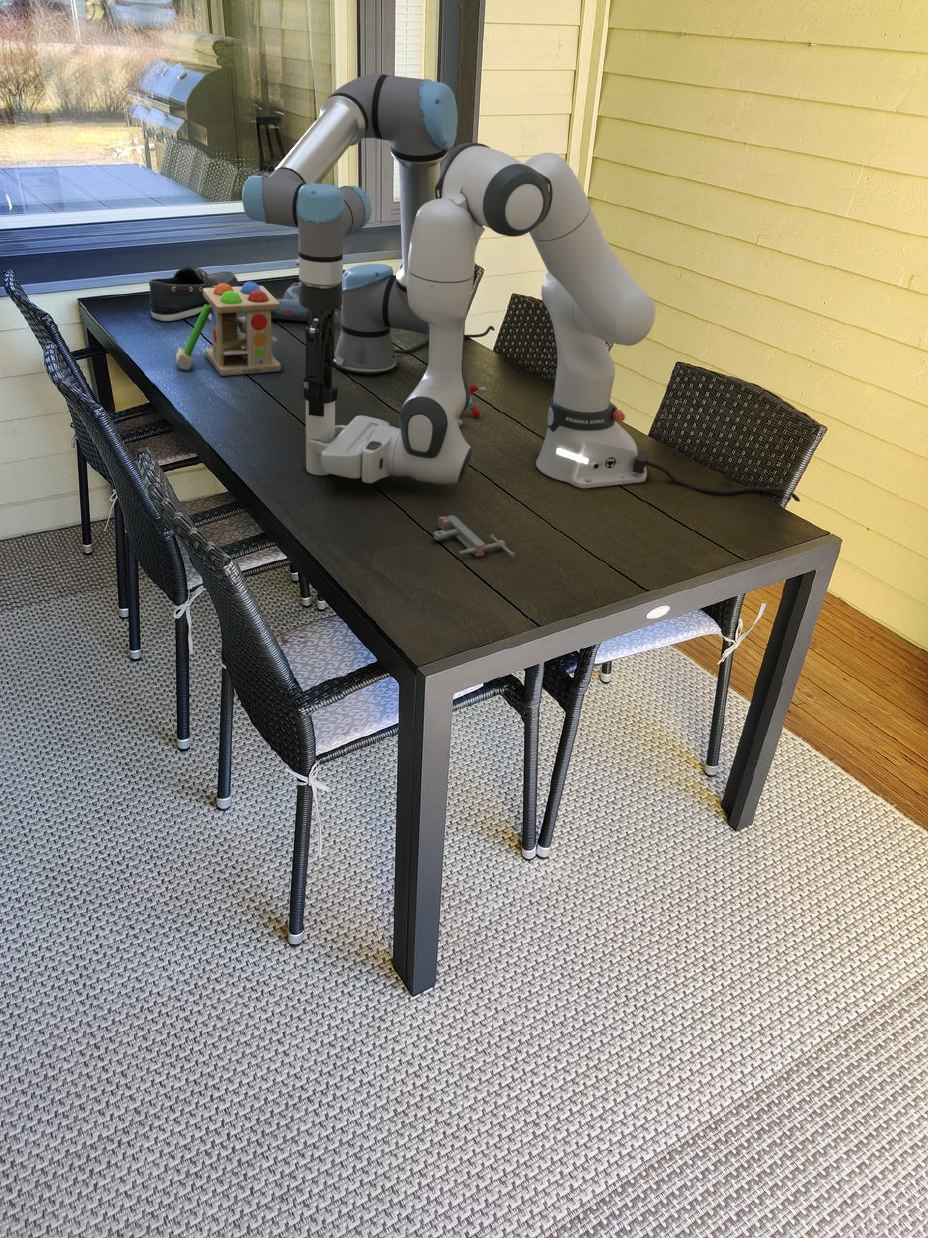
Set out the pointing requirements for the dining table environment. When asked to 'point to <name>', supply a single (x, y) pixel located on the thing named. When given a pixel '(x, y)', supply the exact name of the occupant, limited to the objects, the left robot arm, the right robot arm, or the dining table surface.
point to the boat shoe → (184, 292)
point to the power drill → (291, 306)
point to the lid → (329, 391)
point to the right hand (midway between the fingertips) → (315, 436)
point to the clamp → (466, 537)
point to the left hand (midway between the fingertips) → (320, 408)
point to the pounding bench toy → (229, 347)
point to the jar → (319, 435)
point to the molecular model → (475, 412)
